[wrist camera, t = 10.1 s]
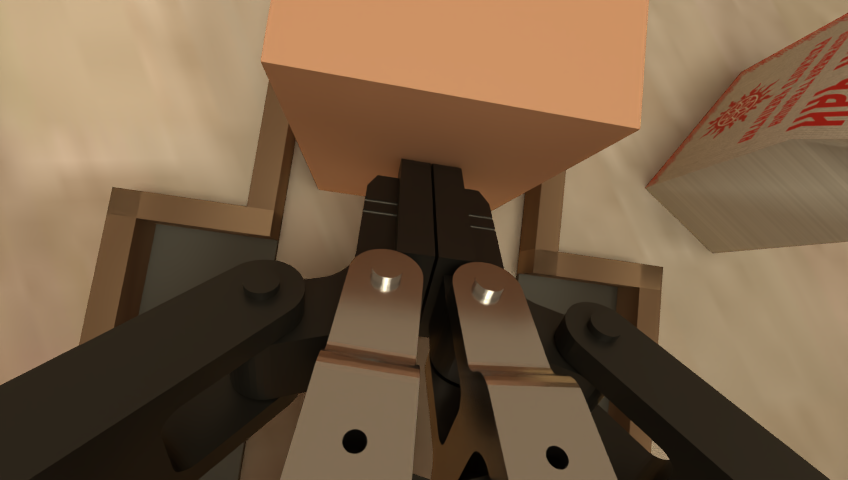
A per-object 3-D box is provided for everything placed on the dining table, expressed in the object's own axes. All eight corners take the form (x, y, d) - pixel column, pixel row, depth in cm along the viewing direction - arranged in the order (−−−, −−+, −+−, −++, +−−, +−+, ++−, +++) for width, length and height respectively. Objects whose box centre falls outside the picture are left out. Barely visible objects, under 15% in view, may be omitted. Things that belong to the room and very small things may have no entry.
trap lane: (657, -25, 18) (715, -85, 15) (589, 908, 14) (649, 1072, 11) (205, -132, 16) (169, -227, 13) (-15, 941, 12) (-138, 1156, 9)
